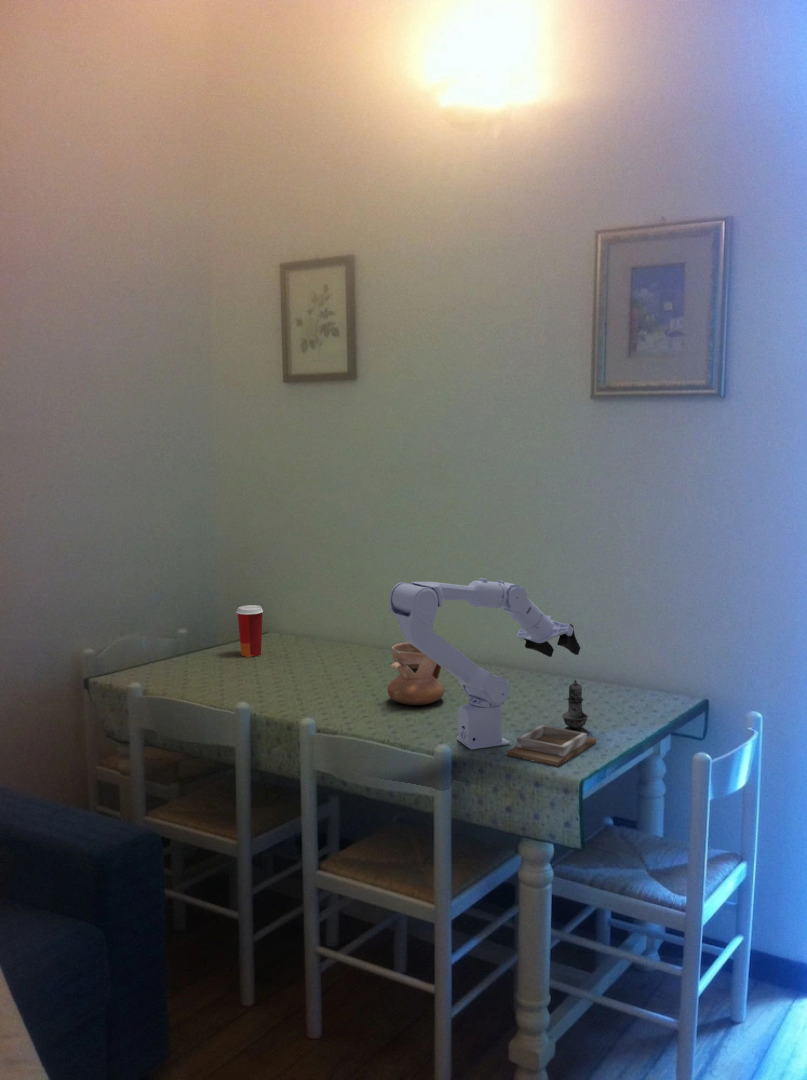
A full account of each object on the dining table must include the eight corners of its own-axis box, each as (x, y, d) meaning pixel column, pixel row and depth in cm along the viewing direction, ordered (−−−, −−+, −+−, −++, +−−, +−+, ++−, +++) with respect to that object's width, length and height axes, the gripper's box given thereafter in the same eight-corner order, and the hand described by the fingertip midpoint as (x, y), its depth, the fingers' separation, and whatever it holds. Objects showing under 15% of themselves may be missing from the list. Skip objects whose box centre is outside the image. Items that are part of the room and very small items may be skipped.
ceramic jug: (413, 714, 234) (413, 657, 233) (372, 702, 245) (372, 647, 243) (461, 700, 247) (462, 645, 246) (420, 689, 257) (421, 637, 256)
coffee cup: (265, 651, 302) (264, 604, 301) (263, 657, 294) (262, 609, 293) (238, 652, 302) (237, 605, 300) (236, 658, 294) (234, 610, 292)
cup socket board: (557, 766, 197) (558, 752, 197) (506, 755, 204) (506, 741, 204) (595, 742, 211) (596, 729, 211) (547, 733, 219) (547, 720, 218)
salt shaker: (559, 727, 223) (559, 676, 221) (584, 726, 223) (584, 675, 222) (565, 735, 217) (565, 683, 215) (591, 734, 217) (591, 682, 216)
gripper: (562, 601, 214) (594, 635, 221) (512, 607, 225) (544, 640, 231) (553, 627, 211) (586, 661, 217) (502, 633, 221) (536, 665, 228)
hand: (564, 652), depth 224 cm, fingers open, 7 cm apart
